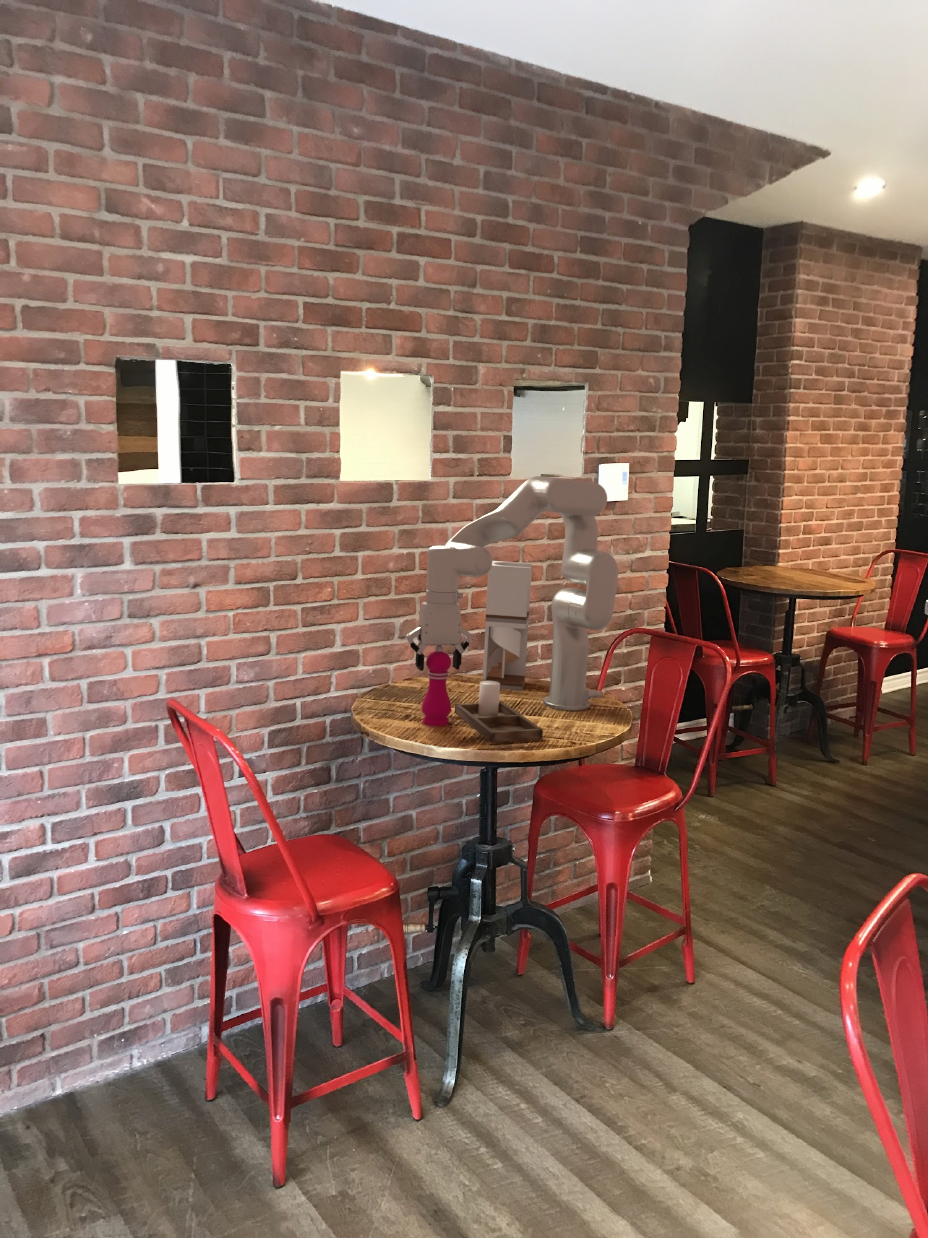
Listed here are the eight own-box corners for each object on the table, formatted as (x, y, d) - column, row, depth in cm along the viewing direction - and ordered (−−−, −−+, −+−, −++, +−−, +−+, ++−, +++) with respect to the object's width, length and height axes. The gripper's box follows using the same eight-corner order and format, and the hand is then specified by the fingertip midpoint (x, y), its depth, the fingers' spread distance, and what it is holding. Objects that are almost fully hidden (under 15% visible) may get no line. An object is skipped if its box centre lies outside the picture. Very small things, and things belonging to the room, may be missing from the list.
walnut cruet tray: (502, 713, 253) (502, 701, 253) (542, 742, 230) (542, 729, 230) (454, 715, 249) (455, 704, 248) (490, 745, 226) (491, 732, 225)
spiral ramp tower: (481, 687, 278) (488, 565, 272) (486, 679, 289) (492, 560, 283) (521, 690, 277) (529, 567, 271) (524, 682, 287) (532, 563, 281)
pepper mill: (439, 731, 234) (443, 649, 231) (415, 725, 238) (418, 645, 235) (456, 725, 240) (460, 645, 237) (431, 719, 244) (435, 640, 241)
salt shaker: (493, 715, 248) (495, 680, 246) (500, 720, 243) (503, 685, 242) (475, 716, 246) (476, 681, 245) (482, 721, 242) (484, 686, 240)
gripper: (470, 595, 240) (466, 664, 243) (402, 595, 234) (399, 666, 237) (481, 600, 233) (477, 671, 236) (411, 600, 227) (408, 673, 230)
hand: (438, 668), depth 237 cm, fingers open, 8 cm apart
